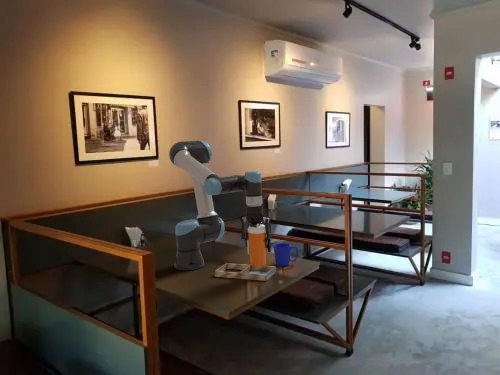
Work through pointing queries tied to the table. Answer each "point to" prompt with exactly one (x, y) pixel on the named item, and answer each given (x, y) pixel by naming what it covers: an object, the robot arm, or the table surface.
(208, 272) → the table surface
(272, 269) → the caddy
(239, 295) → the table surface
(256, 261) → the shaker bottle
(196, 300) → the table surface
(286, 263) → the mug
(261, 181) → the robot arm
